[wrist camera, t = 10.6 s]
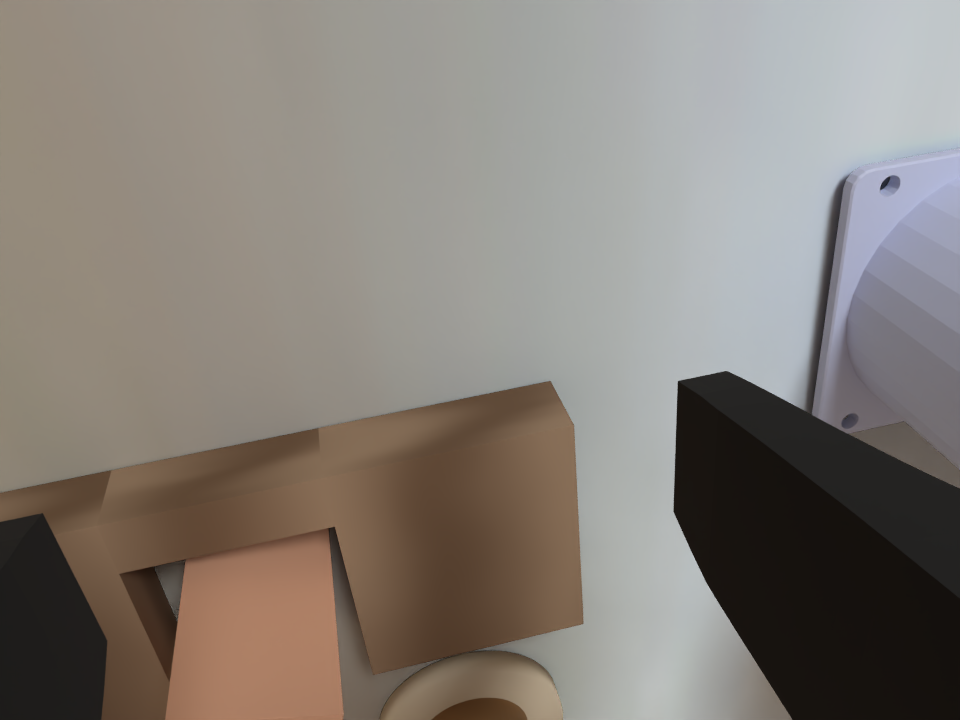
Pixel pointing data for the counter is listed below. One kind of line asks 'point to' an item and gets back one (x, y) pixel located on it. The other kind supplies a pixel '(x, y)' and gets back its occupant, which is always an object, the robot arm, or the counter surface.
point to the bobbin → (477, 690)
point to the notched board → (342, 530)
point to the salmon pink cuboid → (258, 634)
